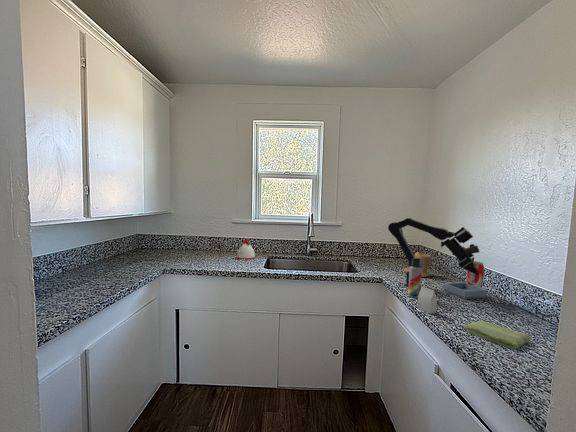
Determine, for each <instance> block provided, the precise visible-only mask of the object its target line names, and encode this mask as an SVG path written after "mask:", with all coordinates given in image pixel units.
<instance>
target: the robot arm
mask: <svg viewBox="0 0 576 432" xmlns="http://www.w3.org/2000/svg"><path fill="white" fill-rule="evenodd" d="M407 226H410V227H412V228H414V229H417V230H420V231H423V232H426V233H428V234H430V235H431V236H432V237H434V238H436V239H438V240H440V243H441V244H440V247H441V248H443V247H446V249H448V250H449V252H451V254H452V256H454V257H455V258H456V259H457V261H458V263H457V265H458V266H459V267H460V268H462V269H464V270H466V271H470V272H472V273H474V274H476V275H479V273H478V271H477V270H476V268H475V267H474V265H473V261H475V255H474V254H478V253H480V249H479V246H478V245H475V244H474V243H473V244H470V245H469V246H467V247H465V246H462V244H461V243H463V244H465V243H467V242H468V241H469V240H471V239H473V238H474V235H473V234H472V233H471V232H470V231H469V230H468V229H466V228H465V227H464V226H462V227H461V228H460V229H458V230H457V231H456V232H452V231H449V230H448V229H447V228H443V227H442V228H441V227H437V226H432V225H429V224H426V223H424V222H421V221H418V220H417V219H413V218H411V217H407V218H405V219H403V220H400V221H398V222H396V221H394V222H391V223H389V224H388V226H387V229H388V231H389V233H391V235H392V236H393V238H395V239H396V241H397V243H398V244H399V246H400V249H401V250H402V252H403V254H404V255H405V258H406V260H407V262H408V268H409V267H410V266H412V258H416V257H415V254H414V253H413V250H412V249H411V247H410V245H409V243H408V241H407V240H406V237H405V236H404V233H403V228H405V227H407ZM423 266H424V265H423V264H422V262H421V259H420V267H421V268H422V272H423V270H424V267H423ZM409 271H410V270H409ZM409 271H408V272H406V274H405V275H406V278H405V279H406V281H405V283H406V284H404V287H407V288H409Z"/></svg>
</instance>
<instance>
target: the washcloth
mask: <svg viewBox="0 0 576 432" xmlns="http://www.w3.org/2000/svg"><path fill="white" fill-rule="evenodd" d="M463 328H464V329H465V330H466V333H468V334H470V335H473V336H475V337H478V338H481V339H484V340H486V341H490V342H492V343H495V344H497V345H500V346H503V347H505V348H508V349H511V350H518V349H519V348H520V347H522V346H523V345H526V344H527V343H528V344H529V343H530V341H531V339H530V336H529V335H528V334H526V333H524V332H521V331H516V330H513V329H510V328H507V327H503V326H500V325H497V324H494V323H491V322H487V321H484V320H479V321H475V322H474V321H473V322H470V323H469V324H463Z"/></svg>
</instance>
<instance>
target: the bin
mask: <svg viewBox="0 0 576 432" xmlns="http://www.w3.org/2000/svg"><path fill="white" fill-rule="evenodd" d="M443 292H446V293H448V294H451V295H453V296H456V297H458V298H461V299H464V300H472V299H483V298H488V297H487V295H488V289H486V288H483V287H481V286H480V287H473V286H470V285H469V284H467V281H461V282H460V281H459V282H446V283H443Z"/></svg>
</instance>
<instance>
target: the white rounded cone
mask: <svg viewBox="0 0 576 432" xmlns="http://www.w3.org/2000/svg"><path fill="white" fill-rule="evenodd" d="M242 243H243V244H242V245H241V246H240V247H239V249H238V250H237V256H236V258H239V259H245V260H244V261H250V260H249V259H253V260H255V259H256V254H255V249H253V247H252V245H251V244H250V242H249V240H248V239H246V238H245V239H243V242H242ZM254 258H255V259H254ZM239 259H238V260H239Z"/></svg>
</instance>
